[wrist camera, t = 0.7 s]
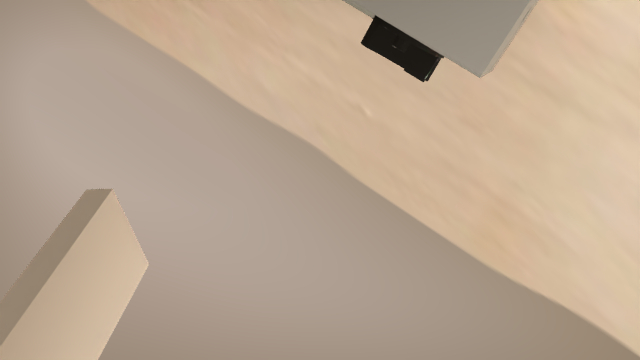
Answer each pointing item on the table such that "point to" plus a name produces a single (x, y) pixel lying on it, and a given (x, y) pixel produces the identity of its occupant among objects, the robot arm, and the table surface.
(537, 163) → the table surface
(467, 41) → the circuit breaker
